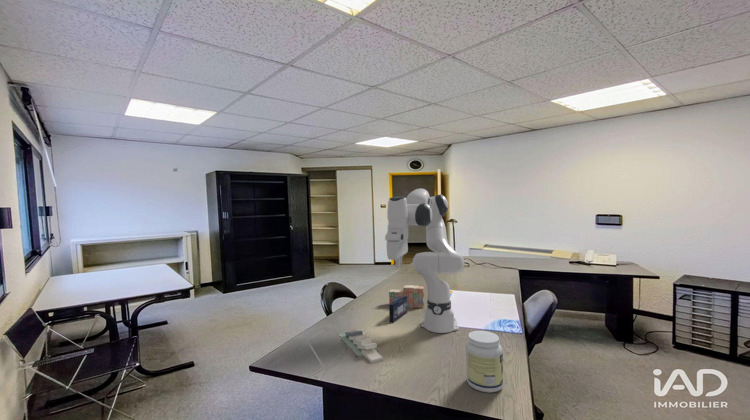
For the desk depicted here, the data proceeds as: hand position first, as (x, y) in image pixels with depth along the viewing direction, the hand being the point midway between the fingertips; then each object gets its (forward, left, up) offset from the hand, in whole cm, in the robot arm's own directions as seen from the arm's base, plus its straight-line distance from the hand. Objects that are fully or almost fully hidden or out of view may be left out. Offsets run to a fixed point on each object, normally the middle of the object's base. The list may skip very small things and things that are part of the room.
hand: (398, 266), depth 135 cm
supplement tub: (+14, +34, -37) cm, 53 cm away
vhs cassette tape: (-41, -12, -38) cm, 57 cm away
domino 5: (+4, -14, -36) cm, 39 cm away
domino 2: (-7, -25, -36) cm, 44 cm away
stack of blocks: (-62, -12, -38) cm, 74 cm away
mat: (-4, -22, -37) cm, 43 cm away
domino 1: (-10, -28, -36) cm, 47 cm away
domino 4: (0, -17, -36) cm, 40 cm away
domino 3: (-3, -21, -36) cm, 42 cm away
